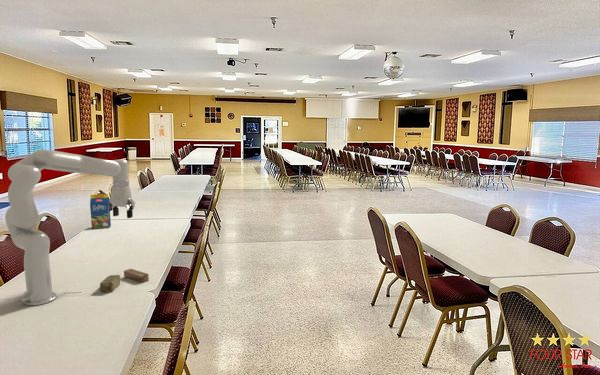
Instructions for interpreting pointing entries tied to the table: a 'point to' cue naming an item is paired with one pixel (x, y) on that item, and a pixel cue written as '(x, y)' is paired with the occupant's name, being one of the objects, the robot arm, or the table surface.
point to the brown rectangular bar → (136, 275)
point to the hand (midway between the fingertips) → (122, 216)
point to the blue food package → (100, 211)
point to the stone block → (110, 283)
